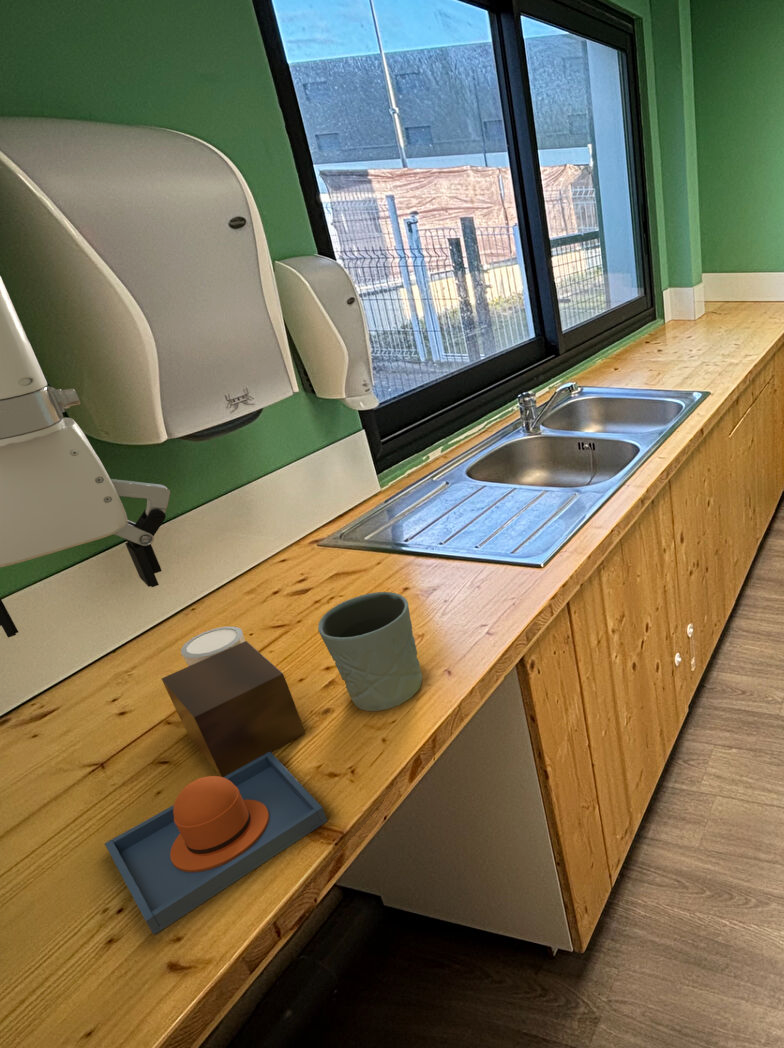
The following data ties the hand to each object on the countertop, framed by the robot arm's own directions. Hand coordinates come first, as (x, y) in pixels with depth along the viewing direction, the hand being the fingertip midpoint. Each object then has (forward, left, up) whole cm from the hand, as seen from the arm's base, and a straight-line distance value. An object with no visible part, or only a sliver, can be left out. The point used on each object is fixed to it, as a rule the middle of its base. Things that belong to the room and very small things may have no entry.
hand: (84, 604), depth 61 cm
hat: (+1, -5, -27) cm, 27 cm away
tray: (+1, -4, -27) cm, 27 cm away
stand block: (+9, +10, -27) cm, 30 cm away
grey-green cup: (+23, +4, -27) cm, 36 cm away
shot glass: (+11, +23, -27) cm, 37 cm away
